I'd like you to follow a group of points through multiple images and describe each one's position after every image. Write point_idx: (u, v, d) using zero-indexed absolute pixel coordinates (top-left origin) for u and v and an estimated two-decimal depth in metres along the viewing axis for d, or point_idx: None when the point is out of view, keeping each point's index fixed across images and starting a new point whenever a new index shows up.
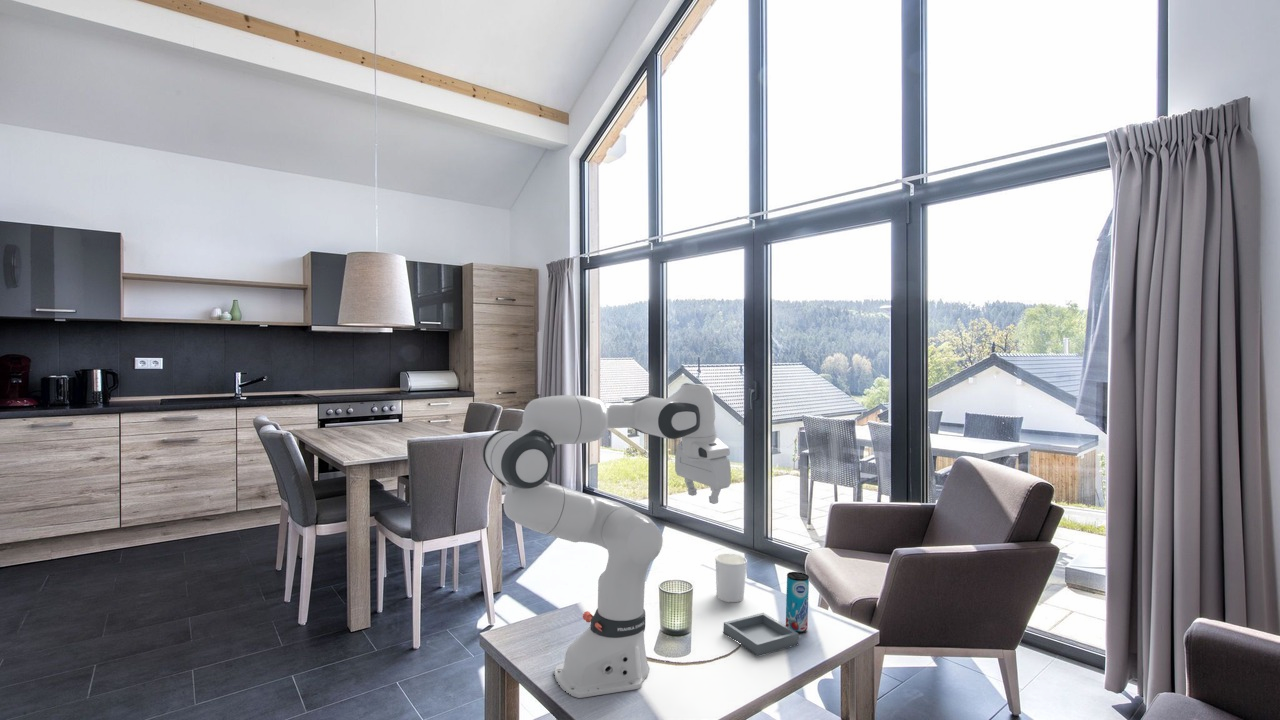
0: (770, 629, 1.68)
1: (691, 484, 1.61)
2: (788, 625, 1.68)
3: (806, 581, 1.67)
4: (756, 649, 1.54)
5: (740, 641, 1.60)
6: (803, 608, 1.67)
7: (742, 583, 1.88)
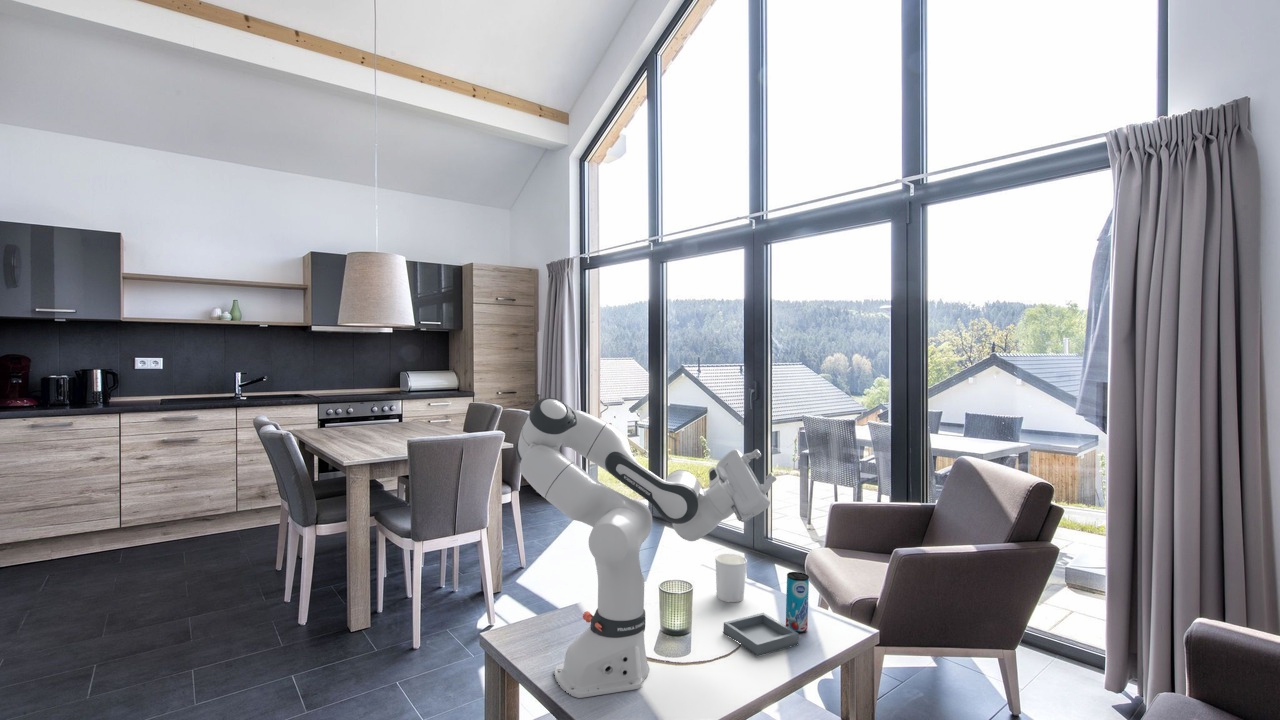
0: (770, 629, 1.68)
1: None
2: (788, 625, 1.68)
3: (806, 581, 1.67)
4: (756, 649, 1.54)
5: (740, 641, 1.60)
6: (803, 608, 1.67)
7: (742, 583, 1.88)
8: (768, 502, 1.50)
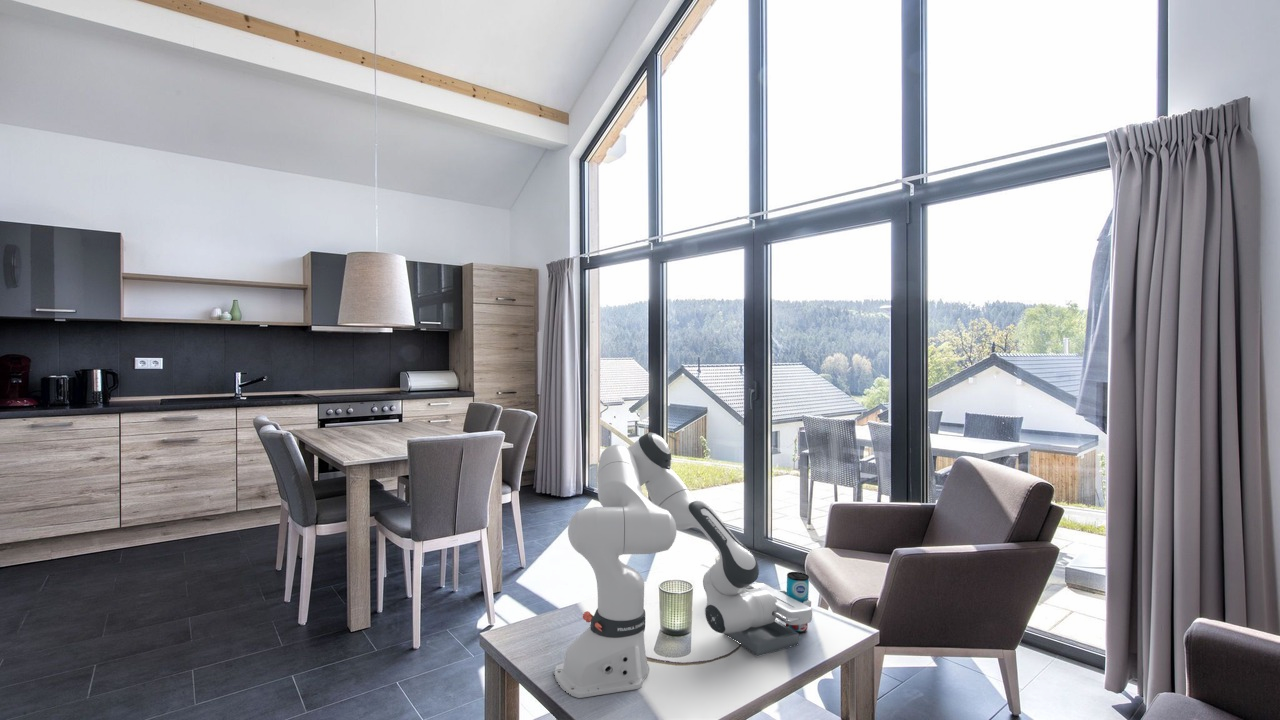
0: (770, 629, 1.68)
1: None
2: (788, 625, 1.68)
3: (806, 581, 1.67)
4: (756, 649, 1.54)
5: (740, 641, 1.60)
6: None
7: None
8: (811, 617, 1.59)
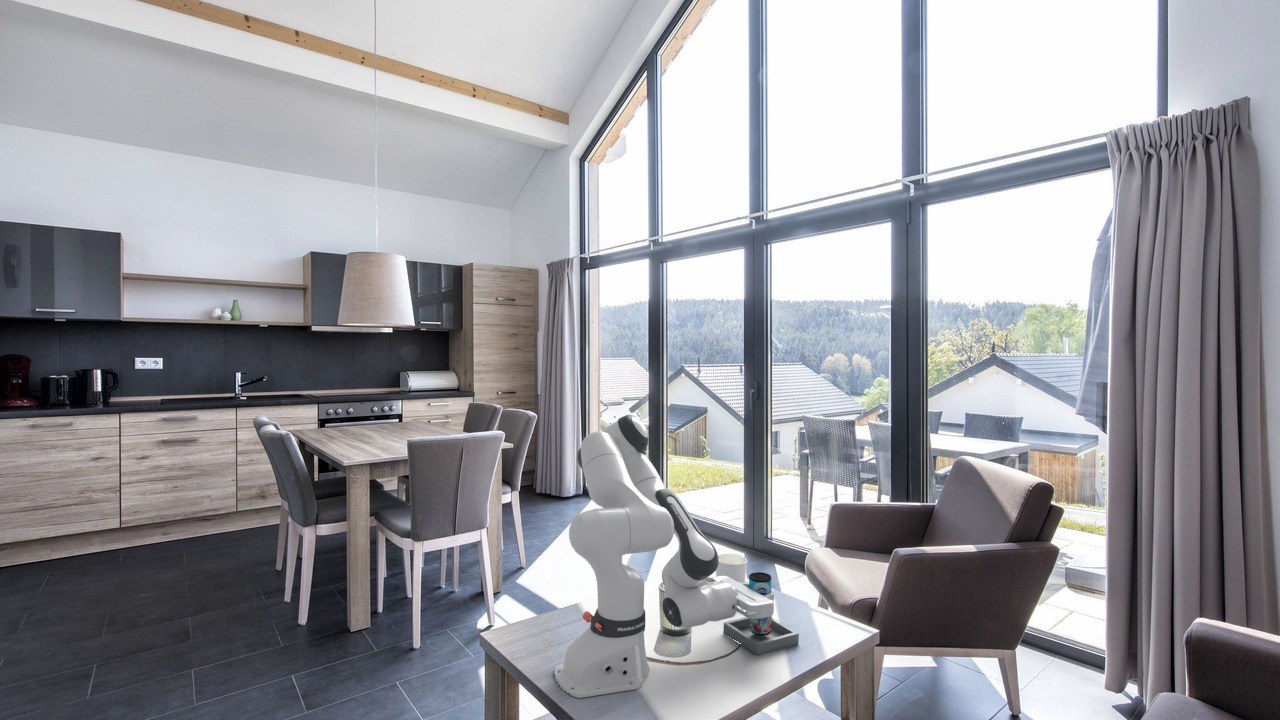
0: None
1: None
2: (751, 627, 1.63)
3: (767, 582, 1.61)
4: (756, 649, 1.54)
5: (740, 641, 1.60)
6: None
7: None
8: (773, 611, 1.53)
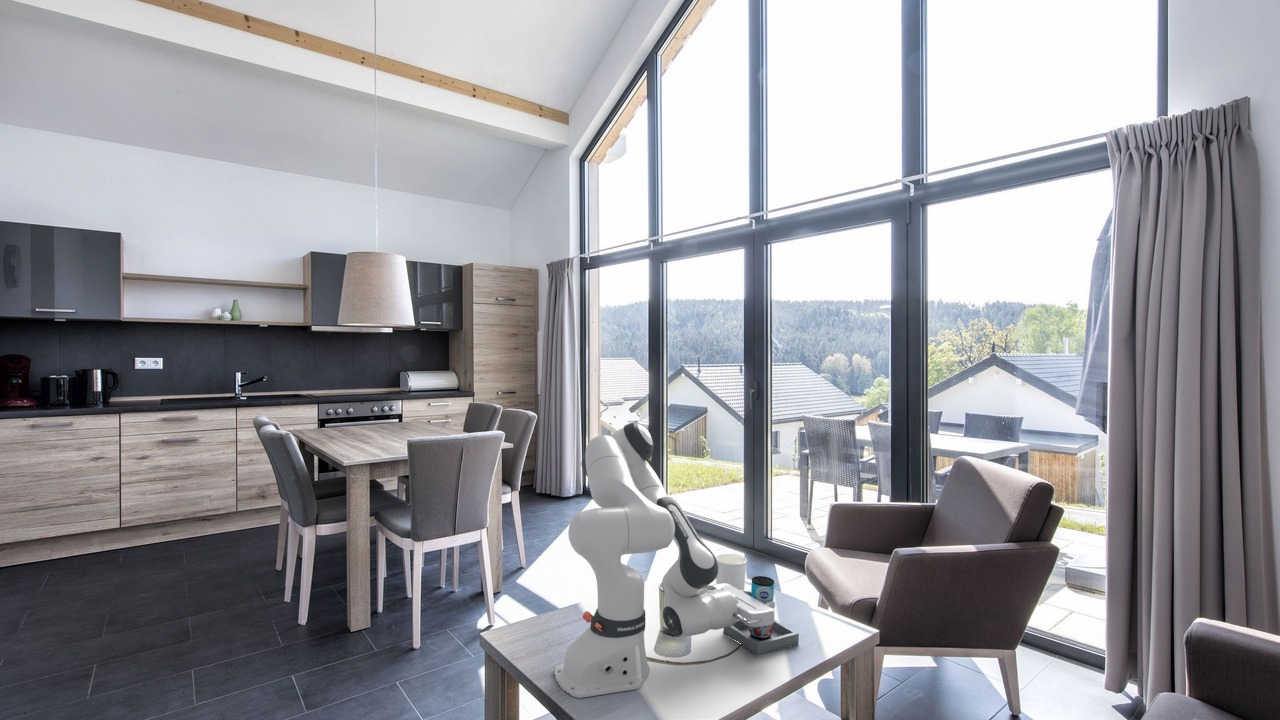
0: None
1: None
2: (751, 631, 1.63)
3: (770, 587, 1.61)
4: (756, 649, 1.54)
5: (740, 641, 1.60)
6: None
7: (742, 583, 1.88)
8: None
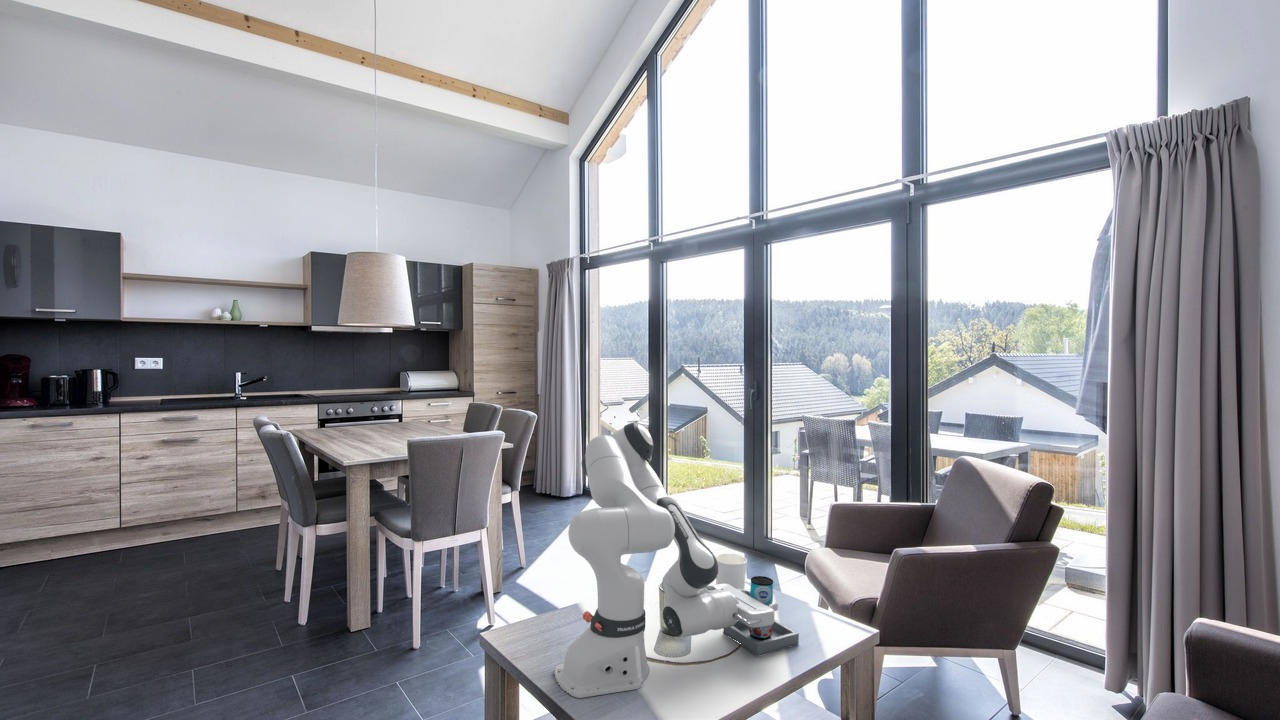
0: None
1: None
2: (751, 631, 1.63)
3: (769, 586, 1.61)
4: (756, 649, 1.54)
5: (740, 641, 1.60)
6: None
7: (742, 583, 1.88)
8: None
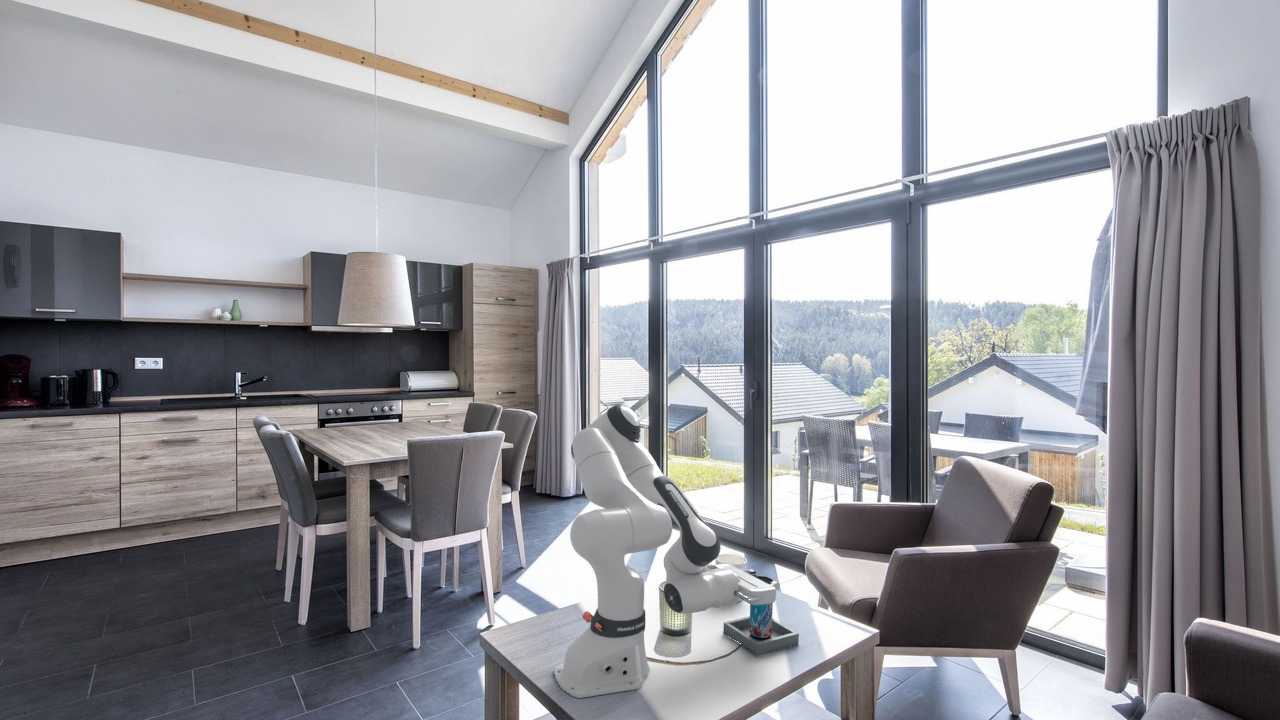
0: None
1: None
2: (751, 631, 1.63)
3: None
4: (756, 649, 1.54)
5: (740, 641, 1.60)
6: (765, 614, 1.61)
7: None
8: (775, 597, 1.52)
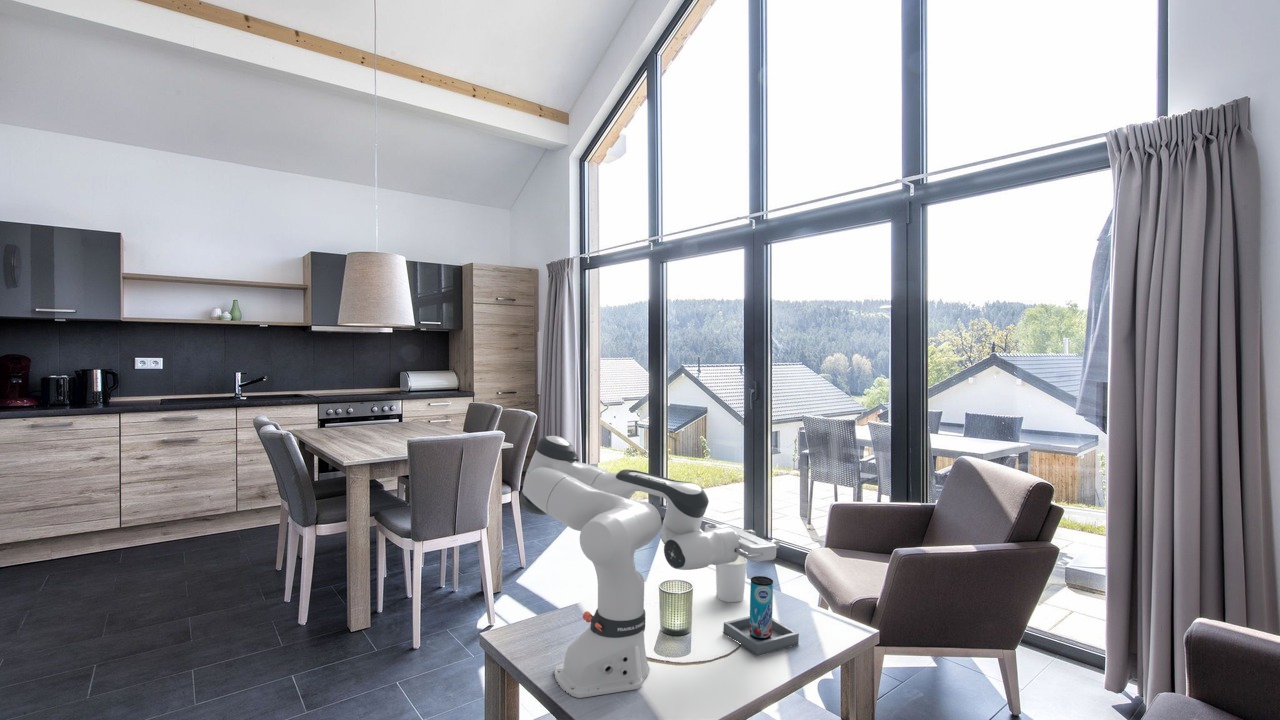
0: None
1: None
2: (751, 631, 1.63)
3: (769, 586, 1.61)
4: (756, 649, 1.54)
5: (740, 641, 1.60)
6: (765, 614, 1.61)
7: (742, 583, 1.88)
8: None
